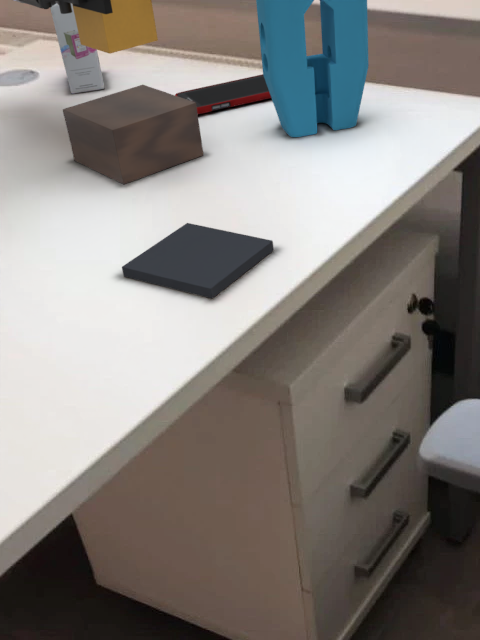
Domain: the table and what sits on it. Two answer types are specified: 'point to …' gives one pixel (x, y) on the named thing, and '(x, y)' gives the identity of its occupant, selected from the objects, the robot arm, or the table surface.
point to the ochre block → (117, 26)
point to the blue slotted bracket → (314, 63)
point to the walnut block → (134, 133)
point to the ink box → (76, 54)
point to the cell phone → (227, 94)
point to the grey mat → (198, 259)
